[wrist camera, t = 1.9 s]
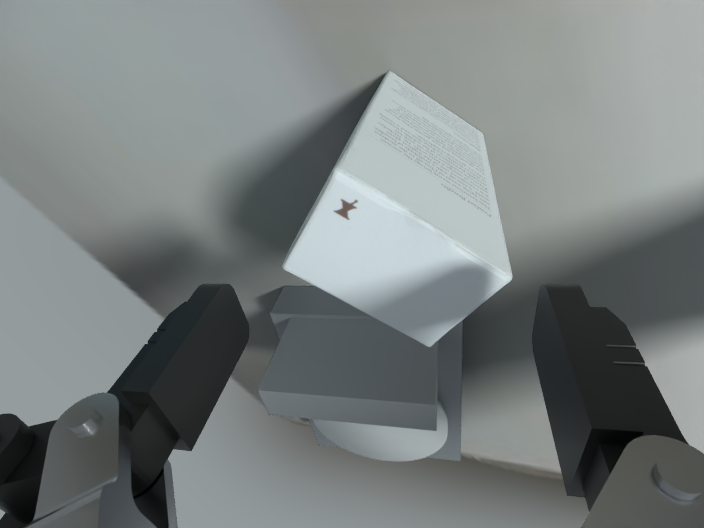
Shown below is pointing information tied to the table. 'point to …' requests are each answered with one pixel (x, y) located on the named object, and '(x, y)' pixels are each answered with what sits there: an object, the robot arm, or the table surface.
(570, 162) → the table surface
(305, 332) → the dial scale
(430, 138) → the skincare box
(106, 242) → the table surface
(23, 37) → the table surface
